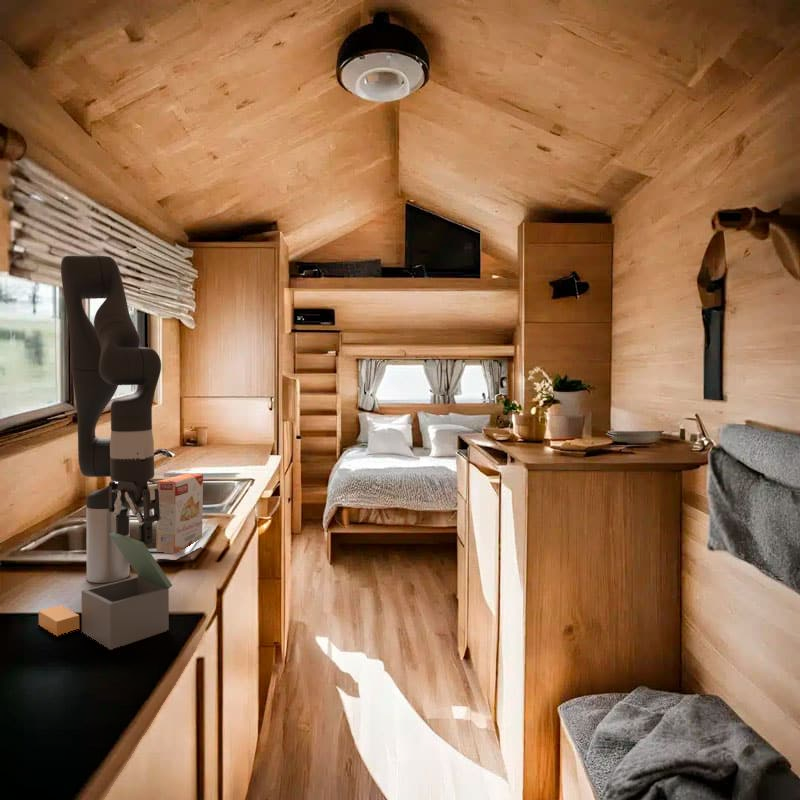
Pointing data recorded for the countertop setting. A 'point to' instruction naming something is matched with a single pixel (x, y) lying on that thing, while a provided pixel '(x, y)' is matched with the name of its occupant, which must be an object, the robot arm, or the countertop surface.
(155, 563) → the lid
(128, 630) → the storage box
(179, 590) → the countertop surface
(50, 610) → the orange rectangular block
